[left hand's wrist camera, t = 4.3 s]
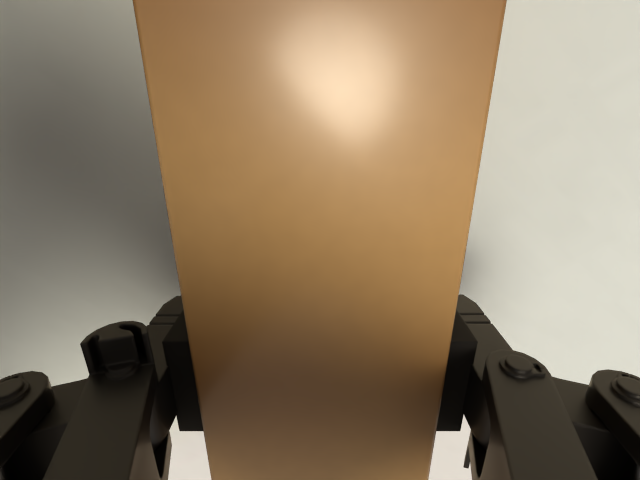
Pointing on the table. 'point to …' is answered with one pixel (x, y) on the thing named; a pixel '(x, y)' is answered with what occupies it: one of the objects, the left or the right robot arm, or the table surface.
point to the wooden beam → (319, 218)
